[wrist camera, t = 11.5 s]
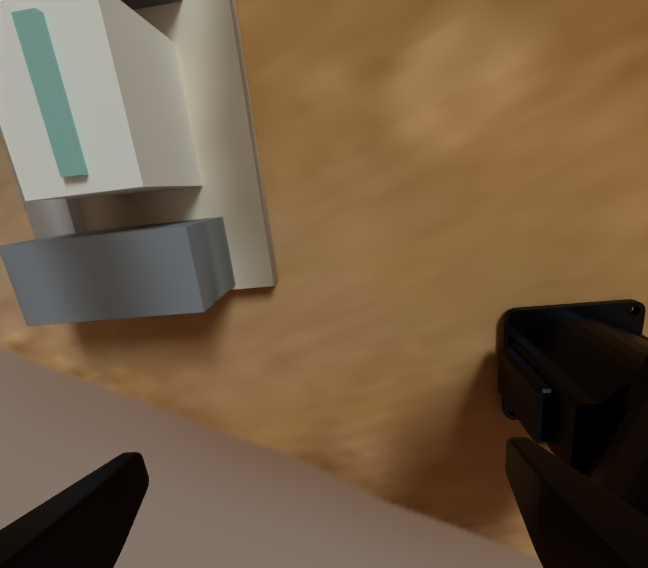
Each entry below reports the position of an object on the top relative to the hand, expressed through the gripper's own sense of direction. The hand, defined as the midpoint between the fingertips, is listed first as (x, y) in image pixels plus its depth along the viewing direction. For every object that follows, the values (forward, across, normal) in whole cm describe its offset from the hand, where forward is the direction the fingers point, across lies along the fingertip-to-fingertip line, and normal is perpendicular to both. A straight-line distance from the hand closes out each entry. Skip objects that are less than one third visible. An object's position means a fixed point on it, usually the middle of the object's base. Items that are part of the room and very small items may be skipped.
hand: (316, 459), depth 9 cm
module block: (+10, +8, -10) cm, 16 cm away
